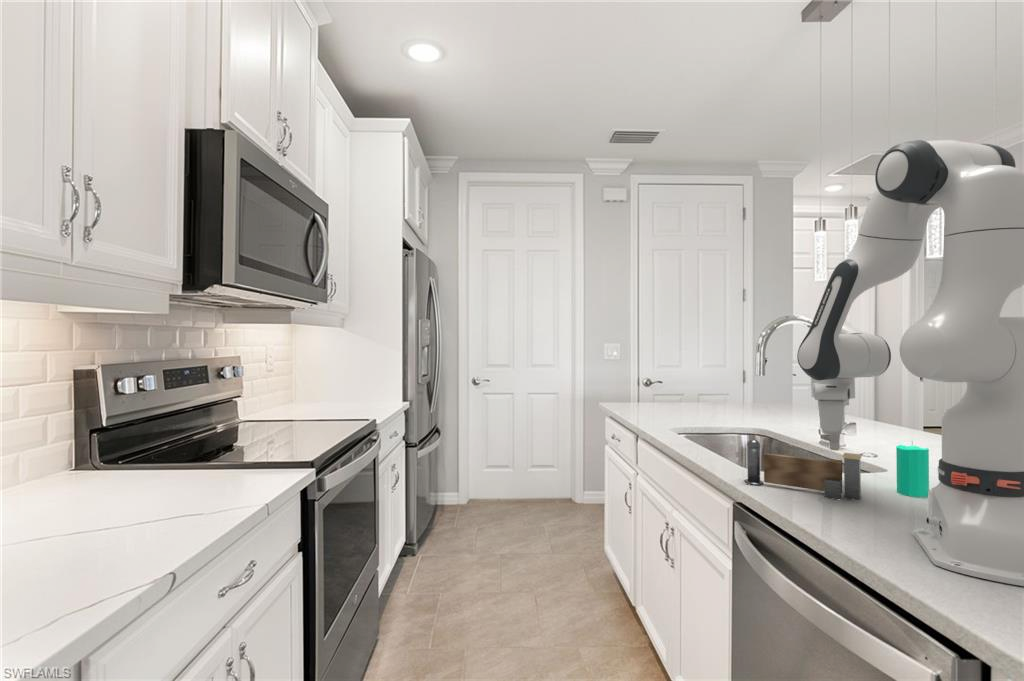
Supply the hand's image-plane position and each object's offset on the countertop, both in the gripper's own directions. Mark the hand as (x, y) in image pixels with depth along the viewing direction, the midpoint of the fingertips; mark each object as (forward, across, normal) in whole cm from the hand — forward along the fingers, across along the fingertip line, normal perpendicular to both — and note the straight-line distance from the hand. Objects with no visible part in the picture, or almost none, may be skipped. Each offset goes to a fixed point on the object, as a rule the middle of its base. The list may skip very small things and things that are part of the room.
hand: (834, 449), depth 124 cm
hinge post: (+9, +4, -17) cm, 20 cm away
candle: (+10, -6, +15) cm, 19 cm away
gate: (+9, +5, -7) cm, 12 cm away
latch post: (+10, +6, +2) cm, 12 cm away
